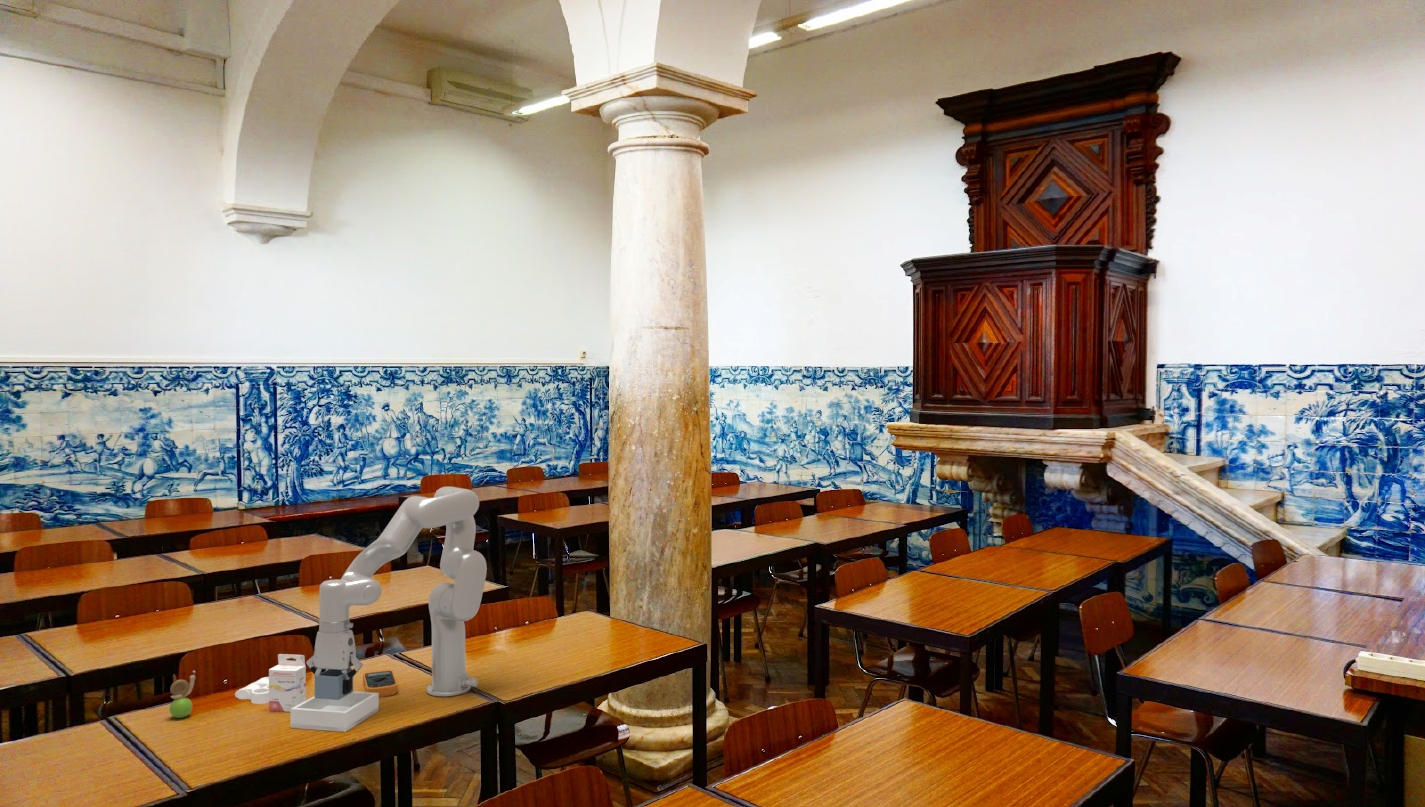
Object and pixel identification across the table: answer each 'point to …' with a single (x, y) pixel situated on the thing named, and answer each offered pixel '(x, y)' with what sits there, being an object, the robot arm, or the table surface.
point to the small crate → (330, 685)
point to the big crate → (334, 712)
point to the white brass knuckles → (255, 691)
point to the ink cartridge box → (287, 683)
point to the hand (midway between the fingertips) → (334, 691)
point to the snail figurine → (181, 697)
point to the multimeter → (380, 682)
